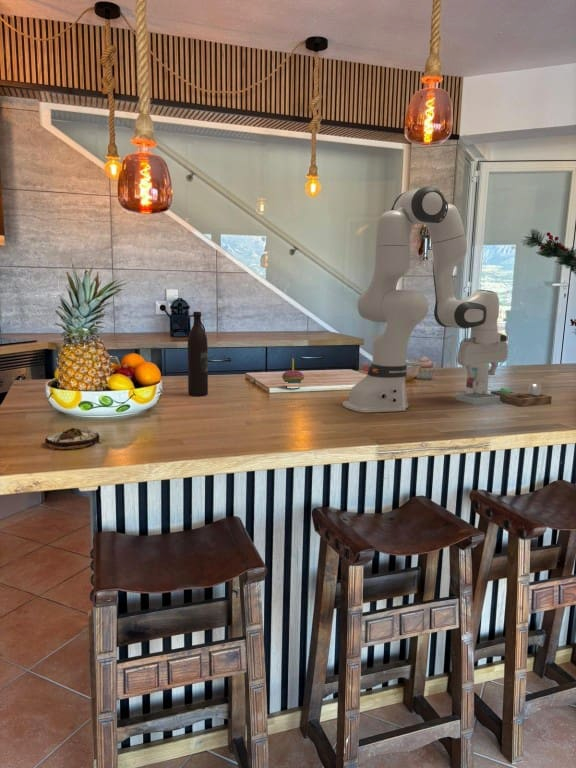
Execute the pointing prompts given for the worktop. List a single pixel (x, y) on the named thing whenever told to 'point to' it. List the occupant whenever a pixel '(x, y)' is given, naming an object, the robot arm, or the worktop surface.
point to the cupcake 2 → (426, 369)
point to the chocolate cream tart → (72, 439)
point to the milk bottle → (478, 376)
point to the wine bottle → (197, 359)
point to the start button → (505, 390)
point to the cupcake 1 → (293, 375)
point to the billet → (478, 389)
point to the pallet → (526, 399)
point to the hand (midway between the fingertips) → (481, 376)
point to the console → (502, 393)
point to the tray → (468, 398)
